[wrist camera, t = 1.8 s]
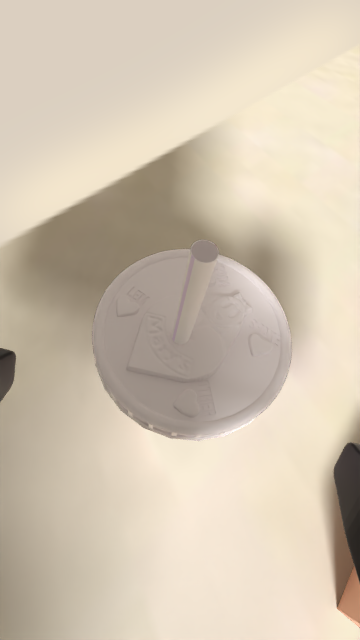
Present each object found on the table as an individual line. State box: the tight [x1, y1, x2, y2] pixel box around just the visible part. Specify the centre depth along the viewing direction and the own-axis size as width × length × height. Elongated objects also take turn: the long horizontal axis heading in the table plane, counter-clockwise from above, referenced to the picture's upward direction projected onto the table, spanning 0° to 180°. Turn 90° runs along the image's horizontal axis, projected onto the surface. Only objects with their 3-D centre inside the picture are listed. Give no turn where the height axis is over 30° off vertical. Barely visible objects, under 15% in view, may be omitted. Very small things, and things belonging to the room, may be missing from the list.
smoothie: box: [92, 240, 292, 441], centre depth 13 cm, size 6×6×14 cm
